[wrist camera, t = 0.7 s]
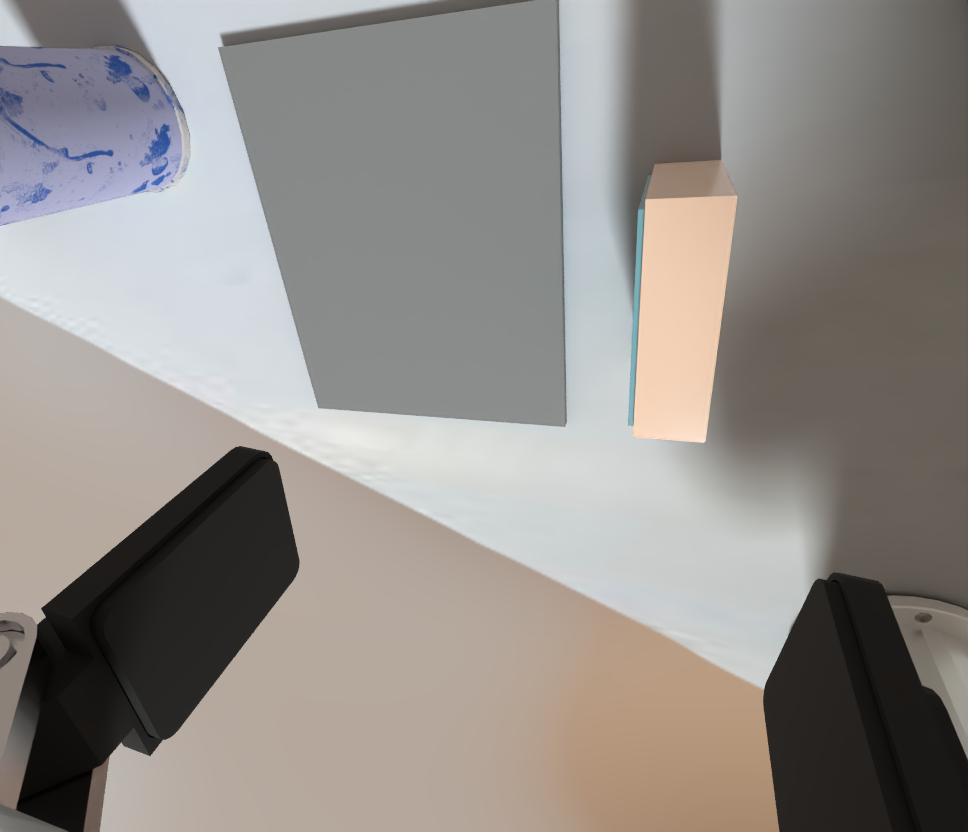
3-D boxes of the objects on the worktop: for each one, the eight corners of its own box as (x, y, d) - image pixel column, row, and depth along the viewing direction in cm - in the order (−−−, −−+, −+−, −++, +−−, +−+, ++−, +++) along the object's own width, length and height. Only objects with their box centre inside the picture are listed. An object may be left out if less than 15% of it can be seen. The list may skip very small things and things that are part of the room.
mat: (566, 421, 36) (564, 426, 35) (322, 404, 41) (318, 408, 41) (558, -2, 25) (556, -4, 24) (225, 47, 30) (218, 47, 29)
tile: (699, 354, 31) (705, 442, 24) (639, 352, 32) (627, 436, 25) (721, 159, 26) (737, 195, 19) (649, 163, 27) (638, 199, 20)
